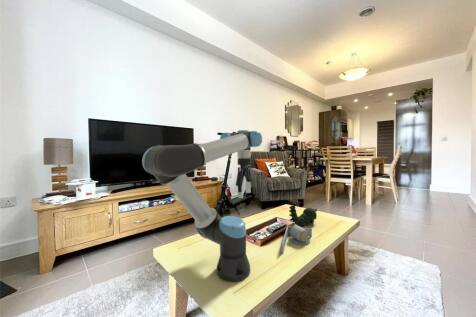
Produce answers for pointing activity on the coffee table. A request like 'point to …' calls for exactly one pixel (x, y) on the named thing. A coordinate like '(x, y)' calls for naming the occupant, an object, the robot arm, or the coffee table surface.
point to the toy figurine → (302, 215)
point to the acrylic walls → (289, 233)
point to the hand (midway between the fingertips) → (244, 195)
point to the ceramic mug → (299, 233)
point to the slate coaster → (298, 241)
